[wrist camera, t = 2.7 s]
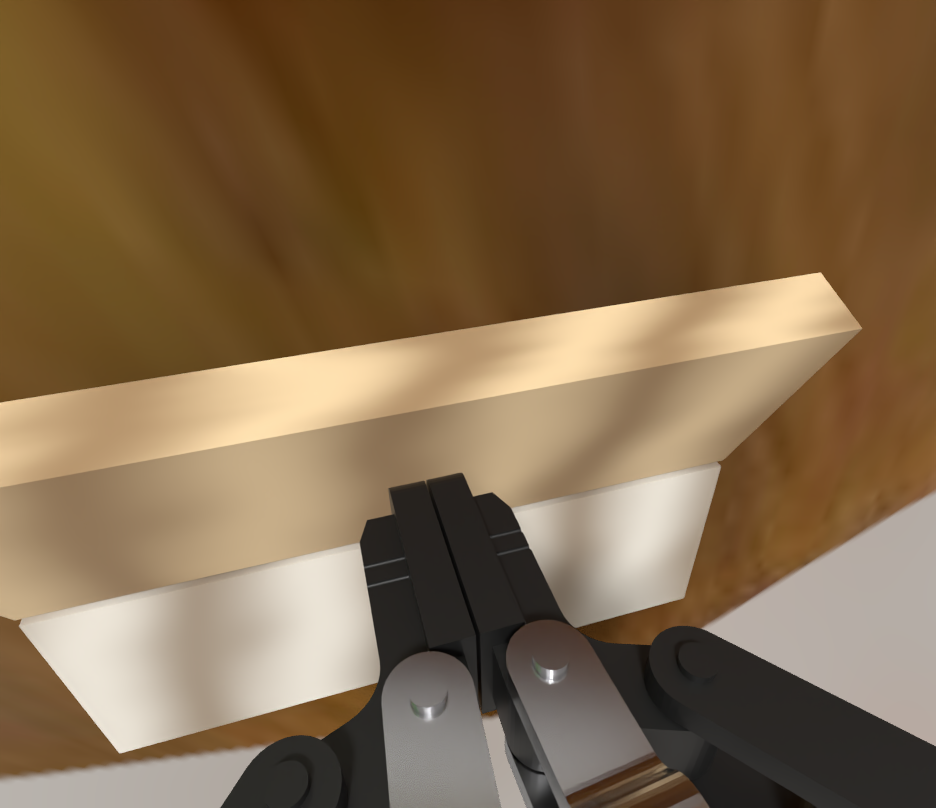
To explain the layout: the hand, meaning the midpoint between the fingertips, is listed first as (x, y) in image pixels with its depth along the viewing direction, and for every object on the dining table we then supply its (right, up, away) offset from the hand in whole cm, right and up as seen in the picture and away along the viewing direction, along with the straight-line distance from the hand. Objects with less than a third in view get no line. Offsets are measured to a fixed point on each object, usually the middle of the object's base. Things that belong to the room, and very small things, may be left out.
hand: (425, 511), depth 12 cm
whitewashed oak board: (-1, -5, +12) cm, 13 cm away
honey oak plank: (-1, +2, +5) cm, 6 cm away
